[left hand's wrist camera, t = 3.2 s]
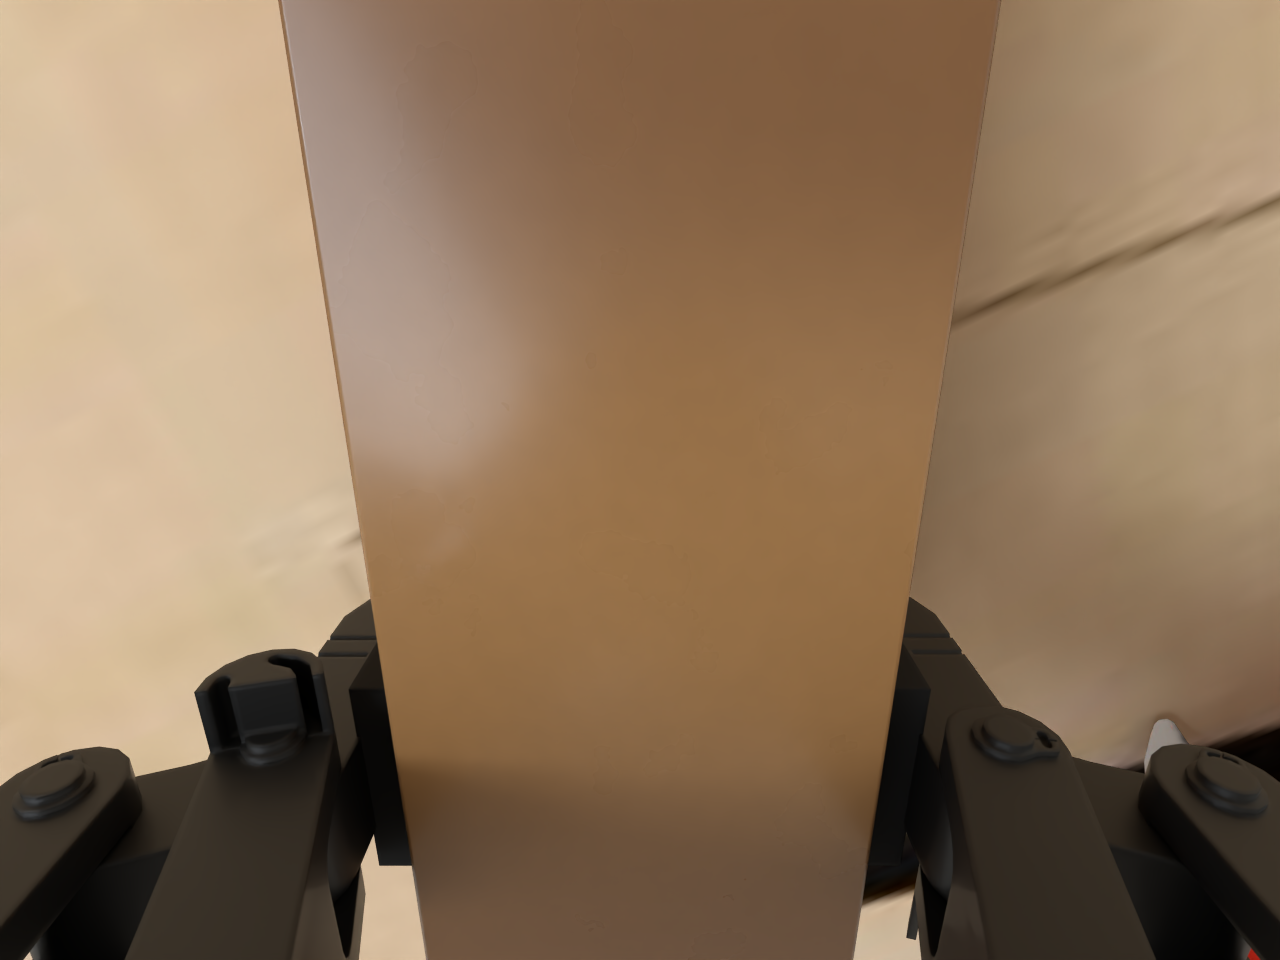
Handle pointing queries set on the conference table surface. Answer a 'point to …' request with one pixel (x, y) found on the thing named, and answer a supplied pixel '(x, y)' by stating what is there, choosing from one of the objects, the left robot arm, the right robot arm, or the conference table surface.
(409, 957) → the conference table surface
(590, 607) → the bar
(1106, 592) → the conference table surface
